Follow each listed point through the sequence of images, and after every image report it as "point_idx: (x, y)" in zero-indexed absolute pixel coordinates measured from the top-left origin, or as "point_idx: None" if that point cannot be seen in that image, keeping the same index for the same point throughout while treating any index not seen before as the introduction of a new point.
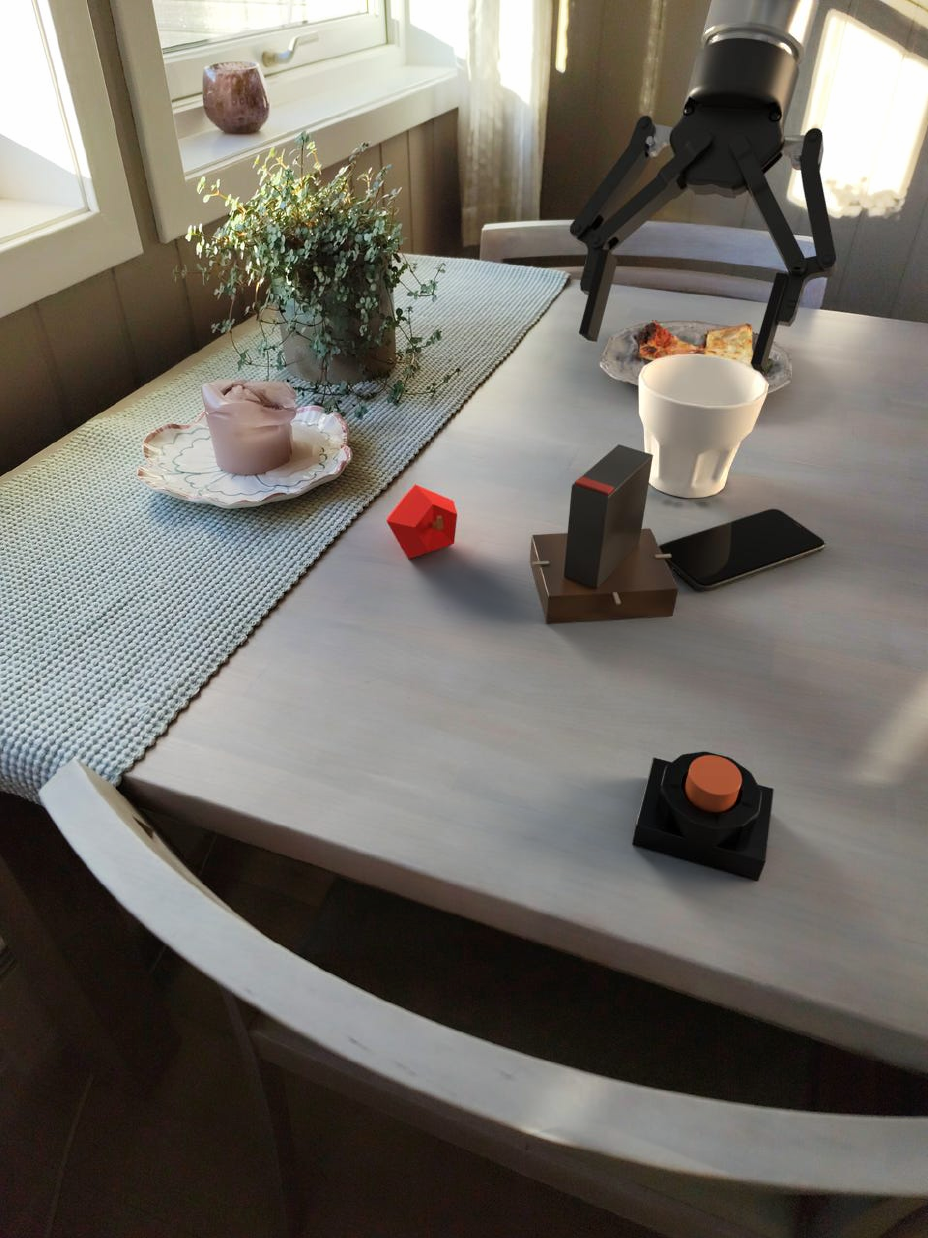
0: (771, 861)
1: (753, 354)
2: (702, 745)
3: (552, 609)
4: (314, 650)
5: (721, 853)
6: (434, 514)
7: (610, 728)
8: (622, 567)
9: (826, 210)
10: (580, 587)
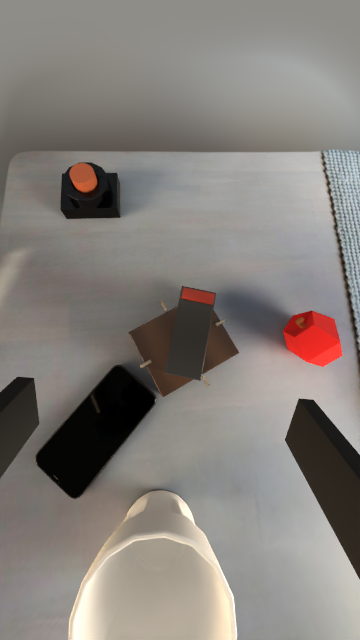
0: None
1: (25, 385)
2: (99, 244)
3: None
4: (301, 236)
5: None
6: (307, 326)
7: (144, 239)
8: (169, 340)
9: None
10: None
